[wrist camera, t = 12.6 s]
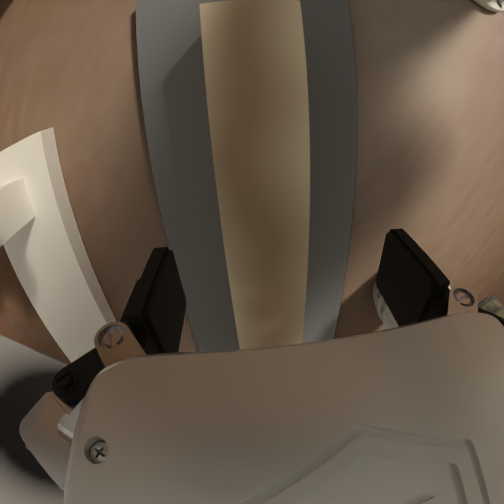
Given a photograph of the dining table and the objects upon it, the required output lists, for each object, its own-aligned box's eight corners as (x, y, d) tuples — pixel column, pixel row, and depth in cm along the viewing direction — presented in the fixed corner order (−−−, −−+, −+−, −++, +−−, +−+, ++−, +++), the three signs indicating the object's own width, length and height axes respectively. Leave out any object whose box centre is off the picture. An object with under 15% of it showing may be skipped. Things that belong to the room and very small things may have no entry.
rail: (283, 24, 10) (299, 0, 7) (289, 346, 23) (297, 383, 19) (207, 27, 10) (199, 3, 7) (244, 351, 23) (246, 389, 19)
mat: (341, -6, 10) (346, -9, 9) (327, 353, 25) (329, 359, 24) (139, 5, 9) (135, 1, 9) (206, 366, 25) (206, 372, 24)
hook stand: (53, 127, 13) (-117, 214, 1) (146, 374, 26) (129, 489, 14) (-10, 159, 12) (-127, 242, 1) (88, 369, 25) (60, 468, 14)
